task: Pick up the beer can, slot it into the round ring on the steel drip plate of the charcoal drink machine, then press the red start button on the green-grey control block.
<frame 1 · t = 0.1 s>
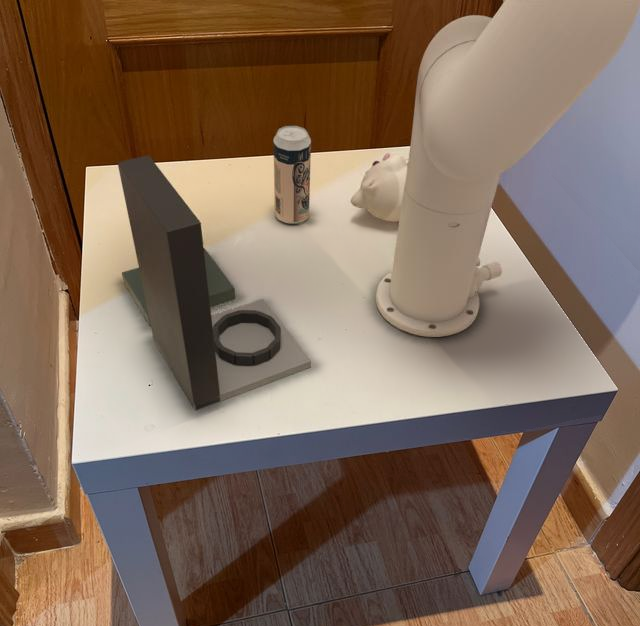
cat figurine: (398, 214, 97), on the table
coffee maker: (231, 354, 78), on the table
control block: (179, 291, 85), on the table
beer can: (291, 217, 96), on the table
brew button: (175, 264, 82), point 4 cm above the table, slide at 0.1 cm
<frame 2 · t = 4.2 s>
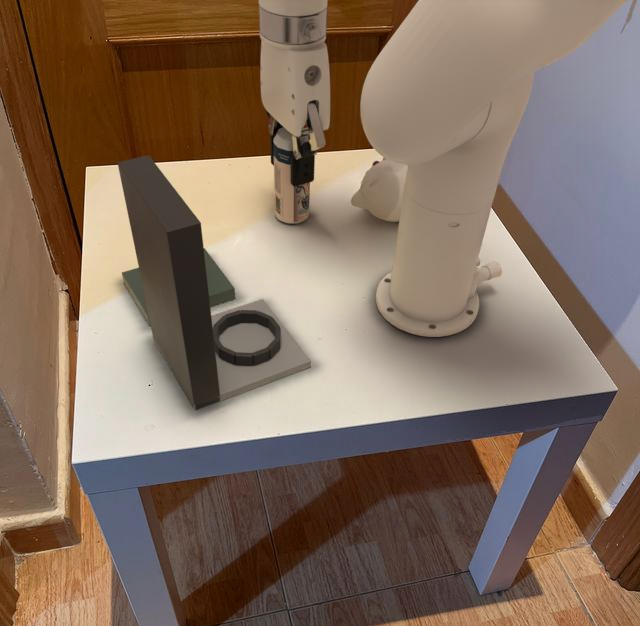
hand: (292, 171, 91), 7 cm above the table, tool pointing down, fingers closed on beer can, 4 cm apart
beer can: (291, 217, 96), on the table, touching gripper
everything else where it was.
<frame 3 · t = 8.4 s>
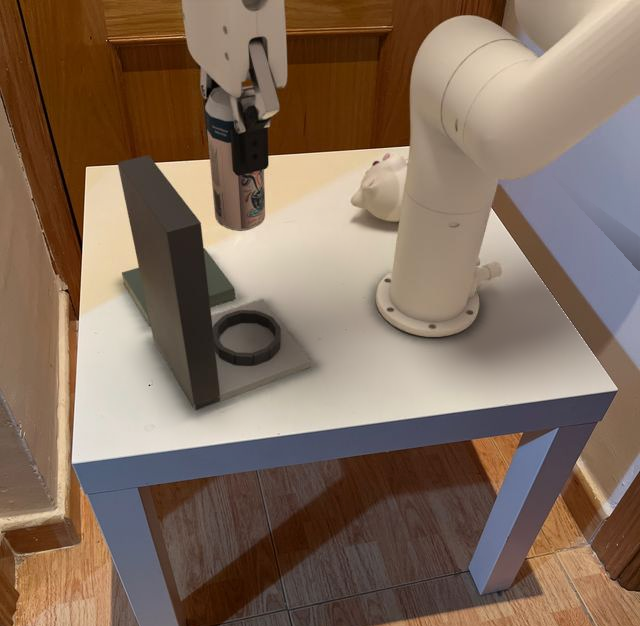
hand: (237, 153, 61), 23 cm above the table, tool pointing down, fingers closed on beer can, 4 cm apart
beer can: (240, 222, 67), point 16 cm above the table, touching gripper
everything else where it was.
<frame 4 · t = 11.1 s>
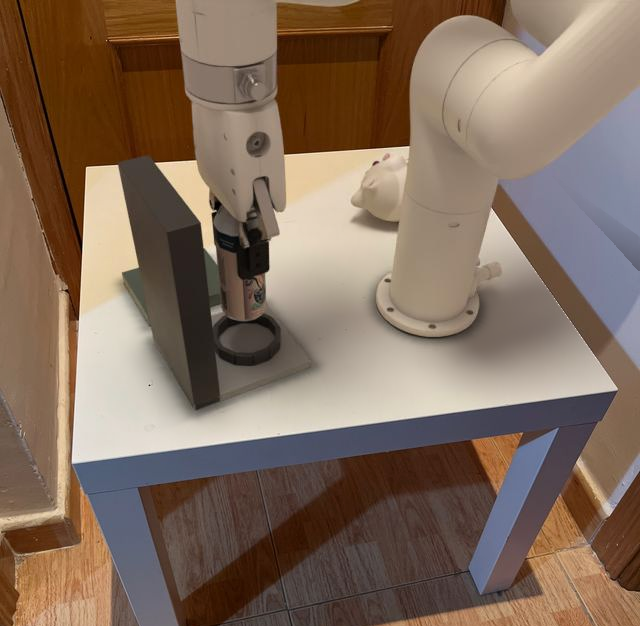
hand: (241, 257, 69), 13 cm above the table, tool pointing down, fingers closed on beer can, 4 cm apart
beer can: (244, 311, 74), point 6 cm above the table, touching gripper
everything else where it was.
when the fingers open (8 cm above the table, at t = 12.9 s): beer can stays where it is, resting on coffee maker.
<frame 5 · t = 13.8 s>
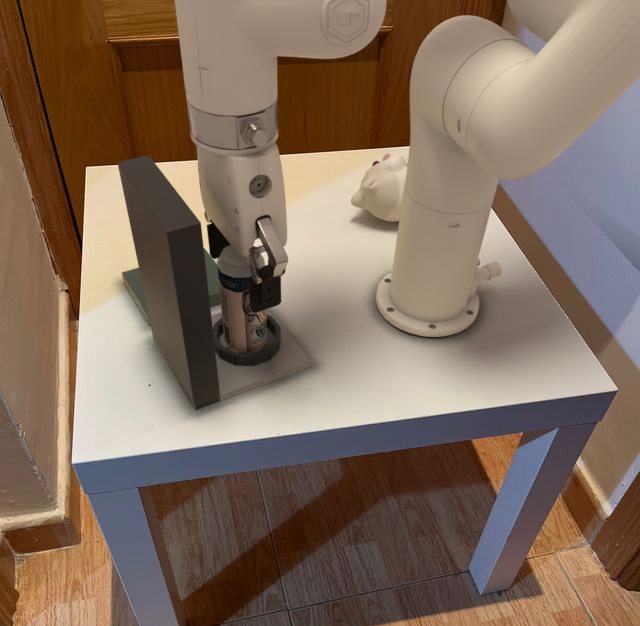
hand: (244, 279, 71), 10 cm above the table, tool pointing down, fingers open, 9 cm apart
beer can: (246, 343, 78), point 1 cm above the table, touching coffee maker
everything else where it was.
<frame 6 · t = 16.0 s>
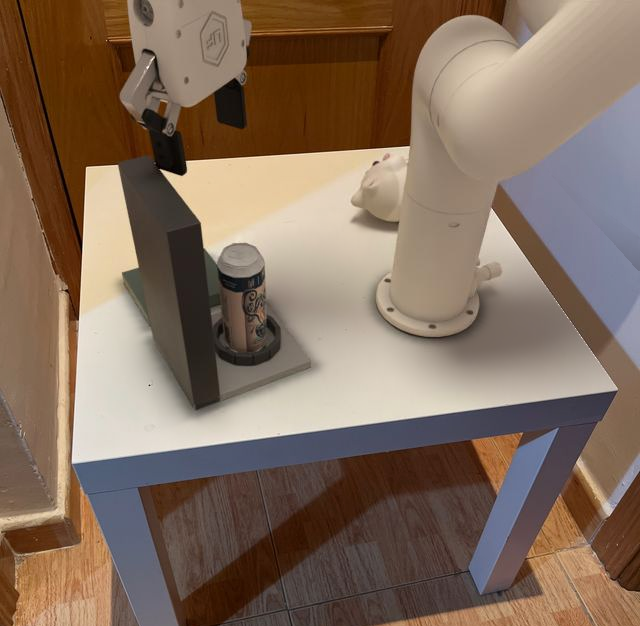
hand: (203, 147, 65), 21 cm above the table, tool pointing down, fingers open, 9 cm apart
nothing on the table moved.
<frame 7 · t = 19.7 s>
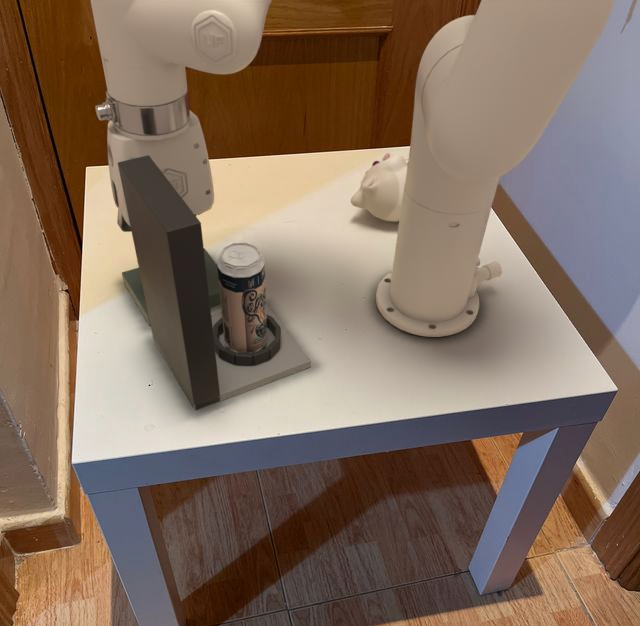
hand: (172, 261, 81), 4 cm above the table, tool pointing down, fingers closed
brew button: (175, 268, 82), point 3 cm above the table, slide at -0.4 cm, touching gripper
everything else where it was.
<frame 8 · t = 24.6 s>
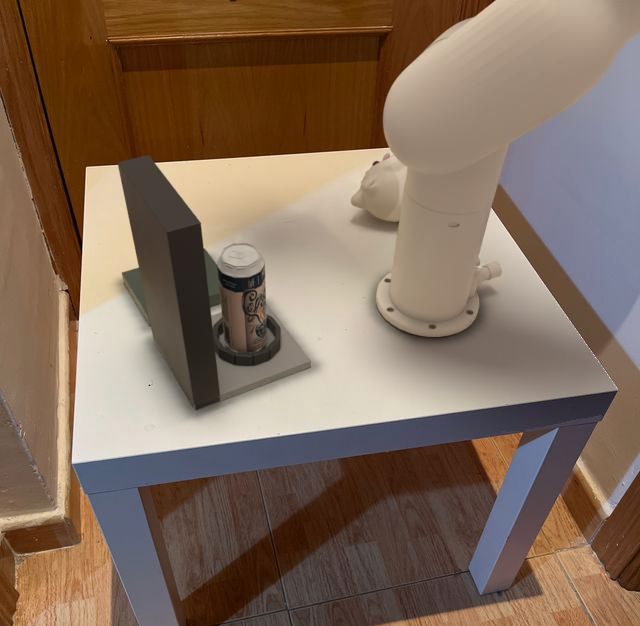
brew button: (175, 264, 82), point 4 cm above the table, slide at 0.1 cm
everything else where it was.
at the end: beer can 0.1 cm from the target spot on the coffee maker, point 0.8 cm above the coffee maker's base; beer can tilted 0°; brew button pushed in 1.1 cm at the most during the clip, back to where it started at the end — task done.
